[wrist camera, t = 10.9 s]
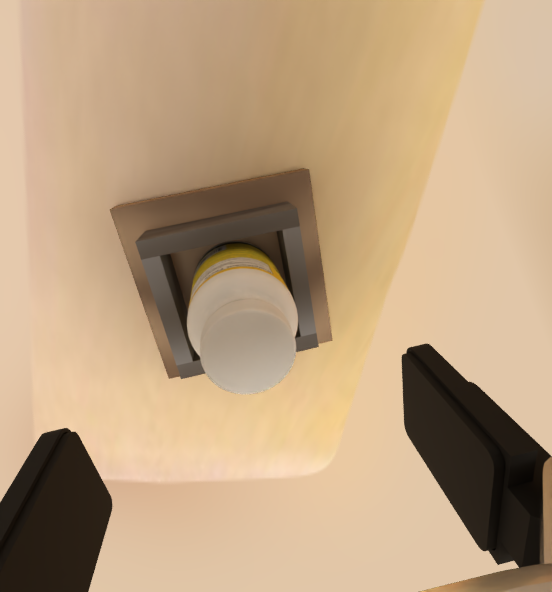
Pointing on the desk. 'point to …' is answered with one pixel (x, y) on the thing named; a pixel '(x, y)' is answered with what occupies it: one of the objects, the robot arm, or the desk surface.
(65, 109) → the desk surface
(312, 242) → the socket stand
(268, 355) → the supplement bottle
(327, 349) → the desk surface
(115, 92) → the desk surface
